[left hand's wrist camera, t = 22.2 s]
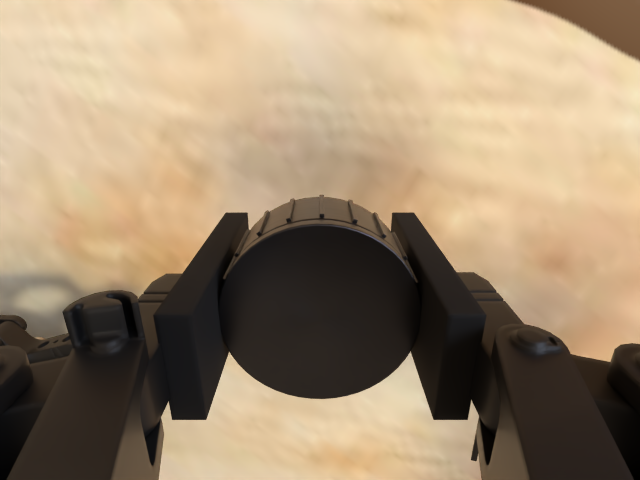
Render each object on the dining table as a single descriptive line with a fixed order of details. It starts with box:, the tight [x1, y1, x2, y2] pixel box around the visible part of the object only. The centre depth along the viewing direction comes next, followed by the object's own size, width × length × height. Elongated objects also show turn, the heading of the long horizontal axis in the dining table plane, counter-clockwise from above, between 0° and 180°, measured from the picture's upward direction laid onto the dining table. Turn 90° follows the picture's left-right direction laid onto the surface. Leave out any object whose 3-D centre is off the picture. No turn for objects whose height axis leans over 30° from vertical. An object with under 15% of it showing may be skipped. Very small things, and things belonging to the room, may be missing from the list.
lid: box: [218, 195, 422, 399], centre depth 11 cm, size 5×5×2 cm
